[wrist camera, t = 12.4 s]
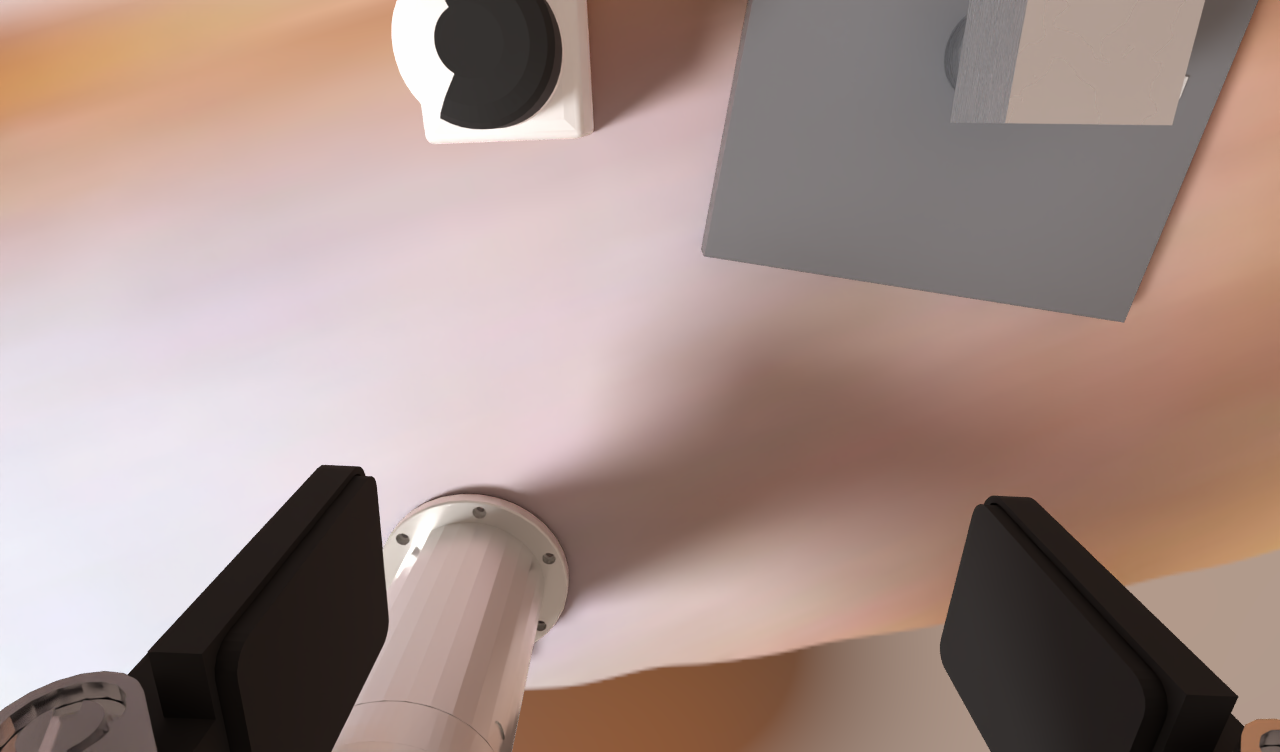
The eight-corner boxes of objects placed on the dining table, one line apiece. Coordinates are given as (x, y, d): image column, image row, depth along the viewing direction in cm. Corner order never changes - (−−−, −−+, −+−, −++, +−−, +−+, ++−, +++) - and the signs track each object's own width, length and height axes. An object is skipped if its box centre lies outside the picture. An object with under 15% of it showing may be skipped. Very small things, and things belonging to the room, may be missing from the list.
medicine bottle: (586, -16, 35) (560, -80, 23) (594, 135, 37) (574, 141, 26) (445, -10, 35) (352, -71, 24) (463, 140, 37) (386, 148, 26)
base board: (1101, 313, 41) (1126, 323, 39) (701, 249, 39) (704, 256, 37) (1299, -177, 32) (1344, -197, 30) (799, -277, 31) (811, -306, 29)
